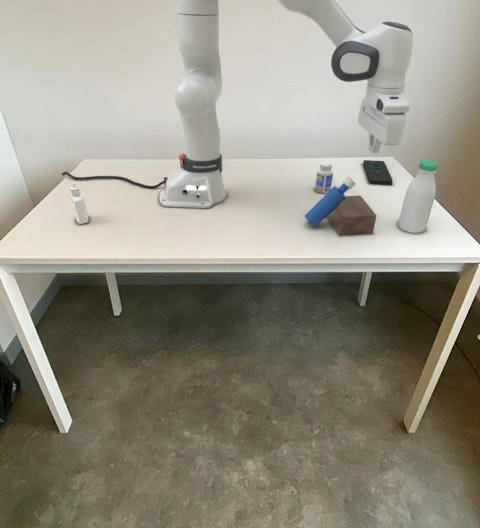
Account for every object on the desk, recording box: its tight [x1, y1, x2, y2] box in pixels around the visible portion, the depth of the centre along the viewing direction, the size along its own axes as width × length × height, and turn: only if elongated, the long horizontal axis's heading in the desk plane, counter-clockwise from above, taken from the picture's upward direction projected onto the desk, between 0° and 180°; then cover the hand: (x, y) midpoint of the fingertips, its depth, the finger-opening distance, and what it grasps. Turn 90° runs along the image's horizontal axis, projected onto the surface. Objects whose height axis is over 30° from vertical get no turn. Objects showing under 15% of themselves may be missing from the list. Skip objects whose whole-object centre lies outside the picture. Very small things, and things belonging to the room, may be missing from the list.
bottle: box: [304, 176, 357, 228], centre depth 117 cm, size 14×5×15 cm, turn 96°
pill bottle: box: [314, 161, 334, 194], centre depth 139 cm, size 5×5×10 cm
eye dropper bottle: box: [69, 182, 89, 225], centre depth 120 cm, size 4×6×12 cm
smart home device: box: [362, 159, 394, 186], centre depth 153 cm, size 8×2×20 cm
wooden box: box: [327, 195, 377, 236], centre depth 120 cm, size 10×13×6 cm
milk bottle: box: [397, 159, 439, 234], centre depth 115 cm, size 8×8×20 cm
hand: (373, 151), depth 110 cm, fingers closed
